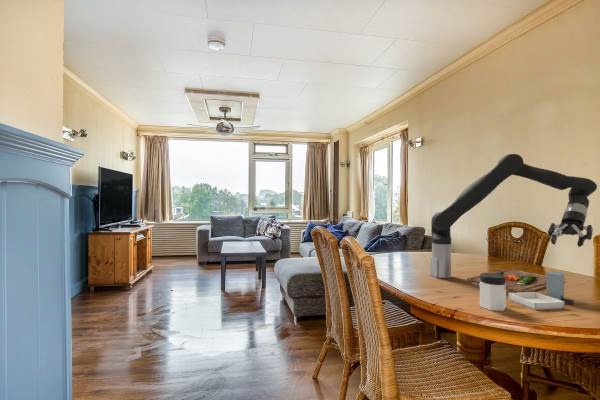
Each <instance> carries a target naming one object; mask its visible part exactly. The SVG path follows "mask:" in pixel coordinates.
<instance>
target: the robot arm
mask: <svg viewBox="0 0 600 400" xmlns="http://www.w3.org/2000/svg"><path fill="white" fill-rule="evenodd" d="M511 176H517V177H521V178H526V179H528V180H531V181H534V182H537V183H540V184H543V185H544V186H545V185H546V186H547V187H551V188H554V189H556V190H560V191H564V190H567V189H569V191H568V202H567V205H566V207H565V209H564V213H563V215H562V219H561V222H560V224H555V223H554V222H552V223H551V224H550V226H549V228H548V230H547V234H548V237H549V238H550V242H551V244H552V245H556V243H557V240H558V237H563V236H567V235H570V236H575V235H576V236H577V237H578V241H577V242H576V243H577V244H576V245H577V247H578V248H581V247H582V246H584V245H585V243H584V242H585V240H588V241H590V240H592V236H593V227H592V224H588V225H587V226H586V225H585V222H586V219H587V214H588V208H589V205H590V200H589V198H588V197H589V196H590V195H591V194H593V193H595V192H596V191H597V189H598V185H597V183H596V182H595V181H594V180H592V179H589V178H586V177H580V176H571V175H565V174H564V173H560V172H558V171H553V170H552V169H551V170H550V169H545V168H540V167H537V166H533V165H528V164H527V163H524V159H523V157H522V156H521V155H520V154H517V153H509V154H507V155H506V154H505V155H504V156H503V157H501V158H500V159H499V160H498V162H497V164H496V165H495V166H494V167H493V168H492V169H491V170H490V171H489V172H487V173H486V174H484V175H483V176H480V177H479V178H478V179H476V180H475V181H473V182H472V183H471V184H469V186H468V187H466V188H465V189H464V190H463V191H462V192H461V193H460V194H459V195H458V196H457V197H456V199H455V200H454V201H453V203H451V204H450V205H449V206H447V207H446V208H445V209H443V210H442V211H440V212H436V213H434V215H433V216H432V217H431V228H430V229H431V231H430V232H431V257H429V258H430V259H429V260H430V261H429V262H430V263H429V267H430V268H429V271H430V272H429V273H430V274H429V276H432V277H435V278H437V279H438V278H439V279H450V278H452V235H451V227H452V226H453V225H454V224H455V223H456V222H457V221H458V220H459V219H460V218H461V217H463V215H465V213H467V212H469V211H470V210H472V209H473V208H474V207H475V206H477V205H478V204H480V203H481V202H482V201H483V200H485V199H486V197H488V196H489V195H490V194H492V192H493V191H495V189H496V188H498V186H499V185H501V183H503V182H504V181H505V180H506V179H508V178H510V177H511ZM584 230H585V232H586V234H583V231H584Z"/></svg>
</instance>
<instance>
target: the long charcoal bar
mask: <svg viewBox="0 0 600 400" xmlns="http://www.w3.org/2000/svg"><path fill="white" fill-rule="evenodd" d="M539 293H540V292H539ZM540 294H543V295H546V296H547V293H546V294H545V293H540ZM561 301H564V302H565V304H566V303H567V305H574V301H575V300H574V299H570V298H565V297H564V298H561Z"/></svg>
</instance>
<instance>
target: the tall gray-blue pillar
mask: <svg viewBox="0 0 600 400" xmlns="http://www.w3.org/2000/svg"><path fill="white" fill-rule="evenodd" d="M546 276H547V288H546V295H547V296H549V297H552V298H555V299H558V300H561V298H565V273H564V272H558V271H549V272H546Z"/></svg>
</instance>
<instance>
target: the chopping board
mask: <svg viewBox="0 0 600 400" xmlns="http://www.w3.org/2000/svg"><path fill="white" fill-rule="evenodd" d="M493 273H495V274H500V275H503V276H505V283H506V293H508V292H510V293H515V292H516V293H522V292H537V291H540V290H542V289H547V275H542V274H539V273H538V274H537V273H531V272H525V271H520V270H512V269H504V270H499V271H494V272H493ZM466 281H467V282H470V283H471V284H472V285H476V286H480V275H479V274H478V275H475V276H470V277H467V278H466Z"/></svg>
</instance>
